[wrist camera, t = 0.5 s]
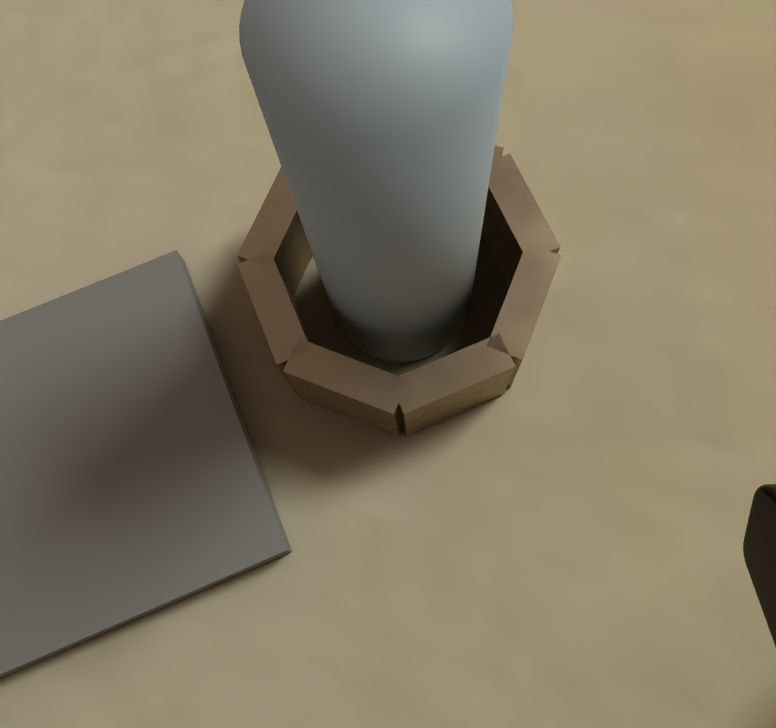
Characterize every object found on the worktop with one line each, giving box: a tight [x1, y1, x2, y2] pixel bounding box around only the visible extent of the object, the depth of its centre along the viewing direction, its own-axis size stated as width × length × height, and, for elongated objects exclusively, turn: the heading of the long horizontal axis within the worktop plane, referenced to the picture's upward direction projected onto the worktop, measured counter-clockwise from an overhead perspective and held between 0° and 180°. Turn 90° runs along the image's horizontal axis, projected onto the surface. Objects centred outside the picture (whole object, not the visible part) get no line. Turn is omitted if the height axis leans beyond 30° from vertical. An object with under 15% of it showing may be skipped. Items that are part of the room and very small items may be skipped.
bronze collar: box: [237, 146, 561, 435], centre depth 22 cm, size 8×8×3 cm
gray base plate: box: [0, 251, 292, 678], centre depth 22 cm, size 10×10×1 cm
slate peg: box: [239, 0, 513, 362], centre depth 18 cm, size 4×4×12 cm
